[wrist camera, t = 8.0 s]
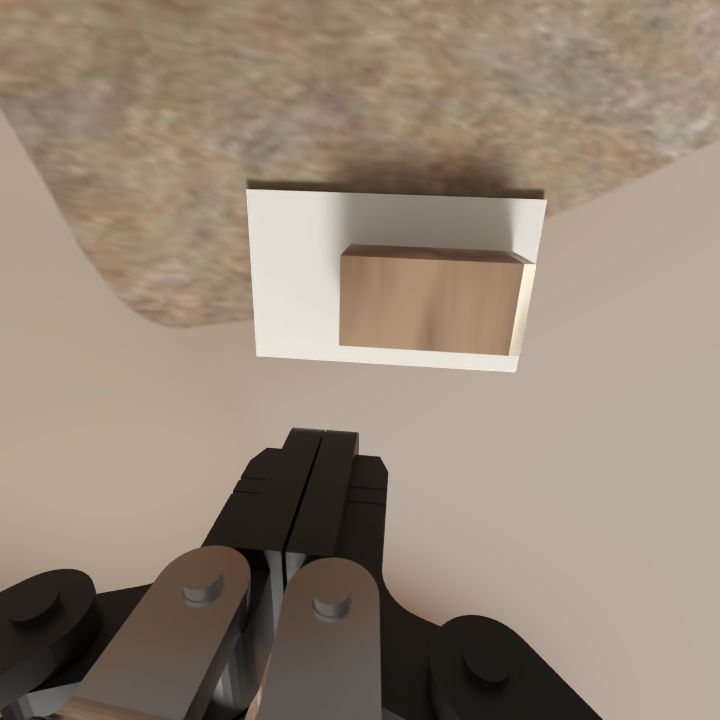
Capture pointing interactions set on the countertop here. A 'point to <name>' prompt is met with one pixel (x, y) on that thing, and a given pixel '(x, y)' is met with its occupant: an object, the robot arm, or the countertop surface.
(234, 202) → the countertop surface
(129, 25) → the countertop surface
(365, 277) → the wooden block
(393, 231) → the mat
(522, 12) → the countertop surface
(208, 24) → the countertop surface
